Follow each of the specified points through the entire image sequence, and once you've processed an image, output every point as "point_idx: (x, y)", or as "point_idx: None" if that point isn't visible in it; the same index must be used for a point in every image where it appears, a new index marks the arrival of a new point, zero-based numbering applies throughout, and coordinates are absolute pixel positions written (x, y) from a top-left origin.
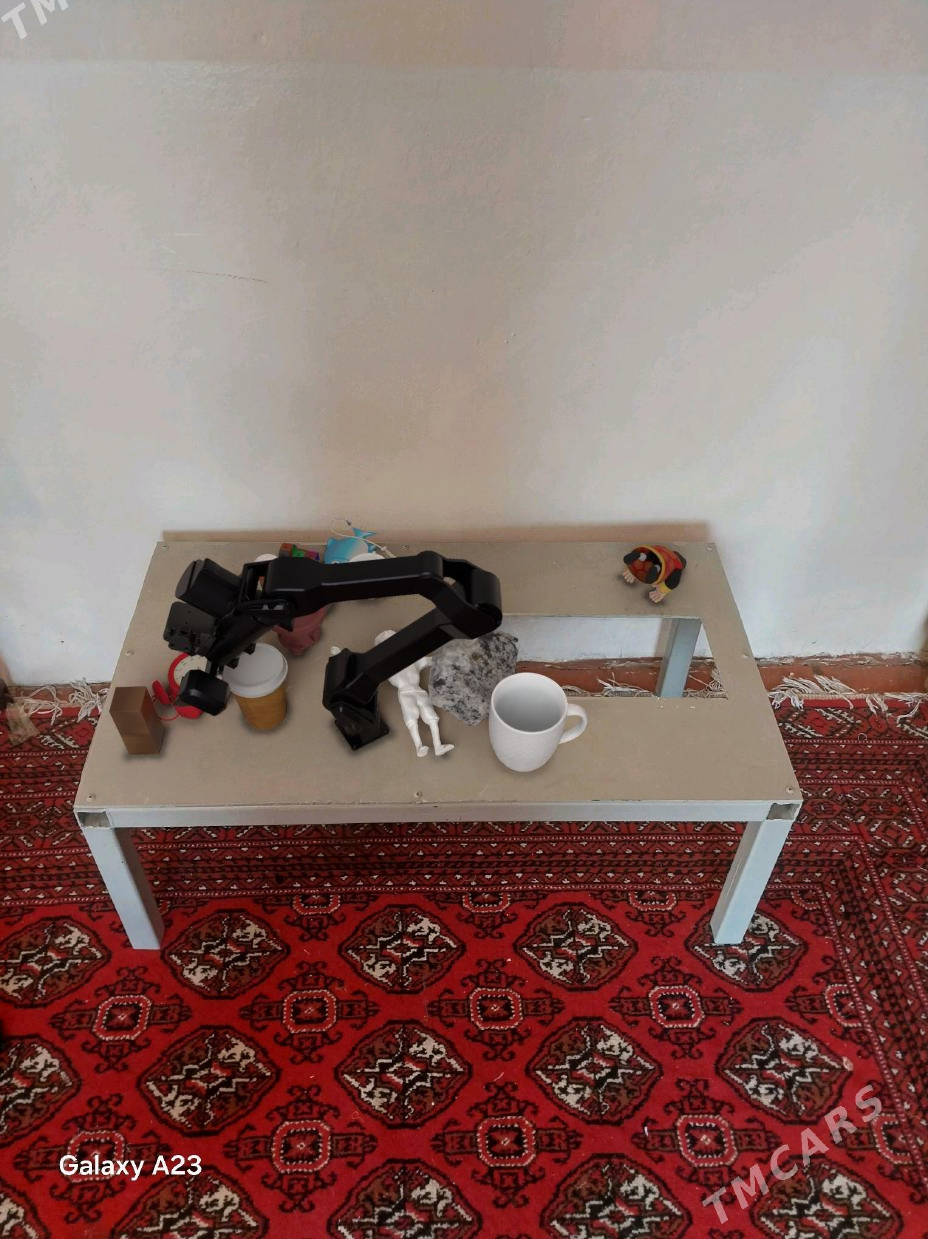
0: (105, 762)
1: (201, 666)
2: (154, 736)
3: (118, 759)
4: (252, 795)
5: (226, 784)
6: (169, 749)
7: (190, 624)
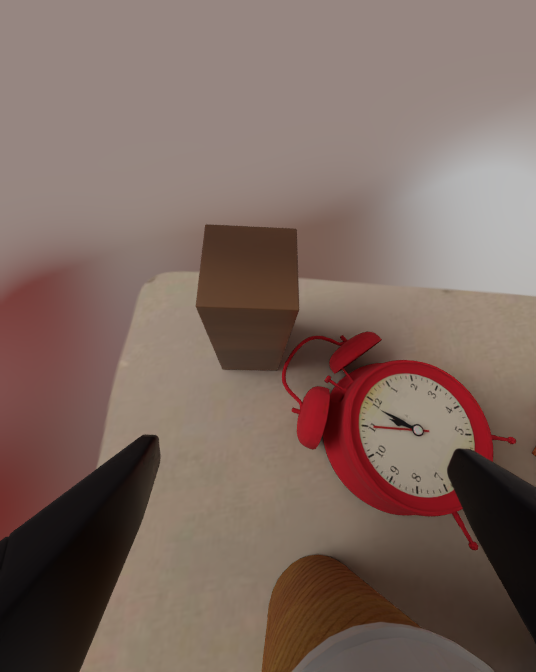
0: None
1: (432, 438)
2: (228, 357)
3: None
4: None
5: None
6: (231, 387)
7: None
